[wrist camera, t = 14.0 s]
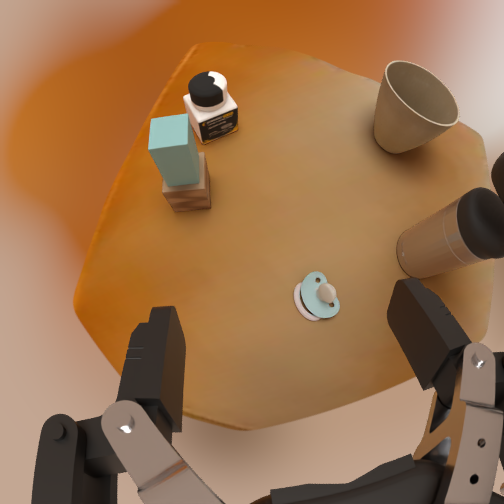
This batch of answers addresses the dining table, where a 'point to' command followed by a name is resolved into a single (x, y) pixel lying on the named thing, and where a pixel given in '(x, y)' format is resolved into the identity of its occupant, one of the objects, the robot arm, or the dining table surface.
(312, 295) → the pacifier
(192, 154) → the pillar
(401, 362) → the dining table surface
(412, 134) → the plant pot
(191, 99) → the medicine bottle
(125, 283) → the dining table surface
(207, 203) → the tower base slab
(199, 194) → the tower upper slab
